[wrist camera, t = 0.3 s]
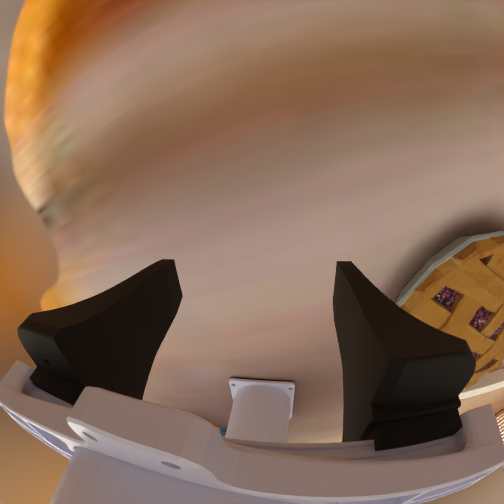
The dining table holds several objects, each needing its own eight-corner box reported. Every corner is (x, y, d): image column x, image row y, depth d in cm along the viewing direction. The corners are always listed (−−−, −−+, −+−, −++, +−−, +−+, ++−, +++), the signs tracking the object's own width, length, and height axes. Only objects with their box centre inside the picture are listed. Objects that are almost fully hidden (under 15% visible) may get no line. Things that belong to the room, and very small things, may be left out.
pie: (447, 174, 17) (480, 193, 13) (548, 262, 18) (569, 285, 14) (331, 358, 28) (333, 395, 24) (453, 383, 29) (461, 409, 25)
